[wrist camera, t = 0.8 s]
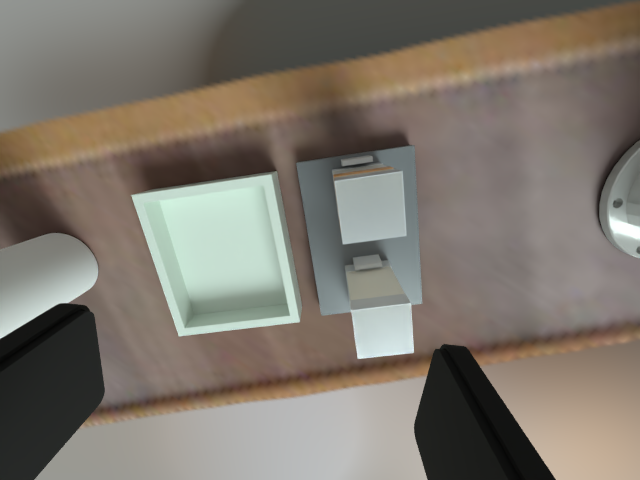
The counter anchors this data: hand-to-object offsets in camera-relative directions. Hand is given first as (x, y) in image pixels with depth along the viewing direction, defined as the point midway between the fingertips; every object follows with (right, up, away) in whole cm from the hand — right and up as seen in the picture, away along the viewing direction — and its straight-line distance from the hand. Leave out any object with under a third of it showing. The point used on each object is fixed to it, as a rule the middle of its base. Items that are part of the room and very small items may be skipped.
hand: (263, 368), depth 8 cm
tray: (-7, +2, +22) cm, 23 cm away
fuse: (+6, -1, +21) cm, 22 cm away
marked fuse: (+5, +8, +18) cm, 20 cm away
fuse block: (+6, +4, +21) cm, 22 cm away
